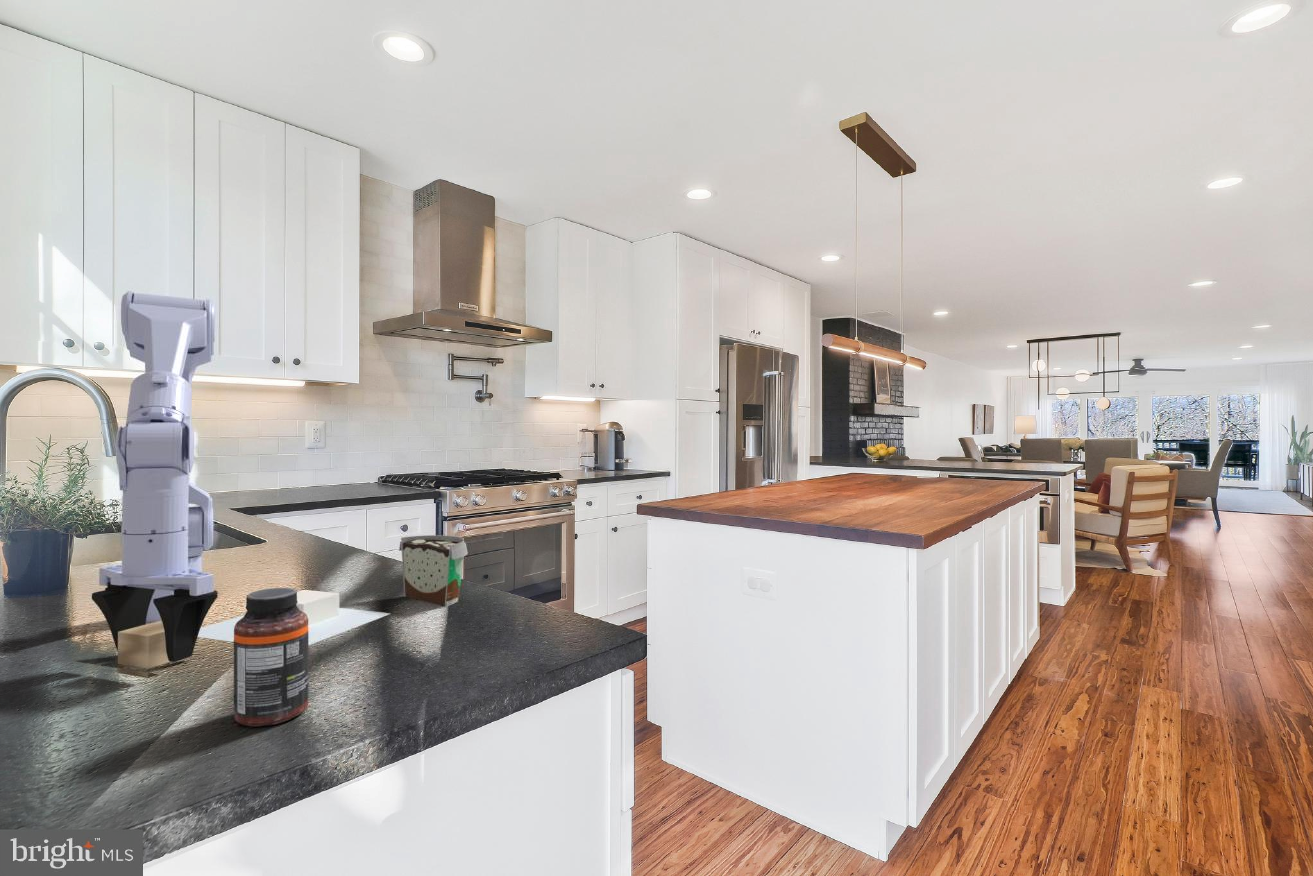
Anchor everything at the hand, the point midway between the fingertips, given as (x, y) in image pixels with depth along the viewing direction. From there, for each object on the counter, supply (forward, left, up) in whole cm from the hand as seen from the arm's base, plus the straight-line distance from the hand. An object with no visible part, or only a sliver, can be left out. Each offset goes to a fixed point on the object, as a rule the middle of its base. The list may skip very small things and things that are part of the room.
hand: (154, 655), depth 70 cm
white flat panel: (+3, +15, -1) cm, 15 cm away
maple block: (0, 0, -2) cm, 2 cm away
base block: (+3, +17, 0) cm, 17 cm away
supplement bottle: (+22, -5, -2) cm, 23 cm away
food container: (+13, +33, -2) cm, 36 cm away
